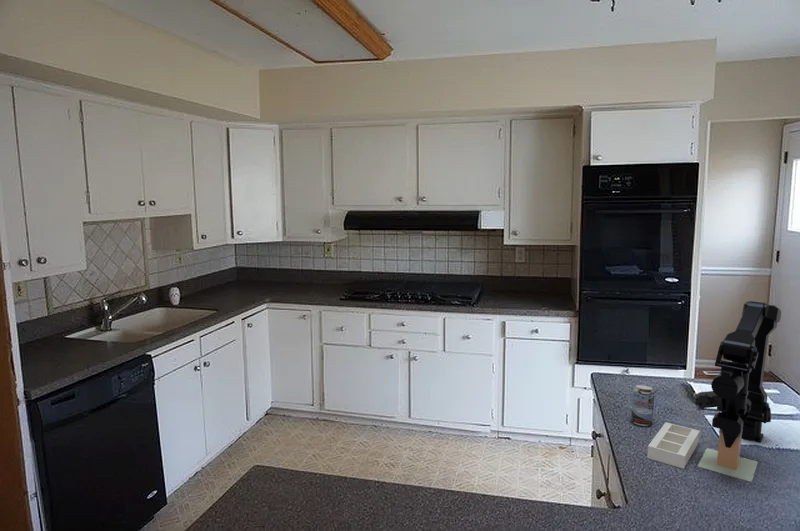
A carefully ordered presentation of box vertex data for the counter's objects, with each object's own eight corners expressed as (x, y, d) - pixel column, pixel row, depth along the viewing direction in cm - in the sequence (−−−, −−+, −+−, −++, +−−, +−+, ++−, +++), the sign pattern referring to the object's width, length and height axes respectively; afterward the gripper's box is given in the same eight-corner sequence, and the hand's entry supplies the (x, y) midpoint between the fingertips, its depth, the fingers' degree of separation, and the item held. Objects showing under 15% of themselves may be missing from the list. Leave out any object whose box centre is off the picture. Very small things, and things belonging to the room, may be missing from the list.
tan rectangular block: (719, 457, 145) (722, 423, 144) (739, 462, 142) (742, 428, 141) (716, 464, 142) (719, 429, 140) (736, 470, 139) (739, 434, 137)
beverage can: (630, 427, 165) (632, 390, 163) (630, 417, 172) (632, 381, 170) (653, 430, 162) (655, 392, 161) (652, 420, 169) (654, 384, 167)
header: (664, 434, 160) (665, 422, 159) (698, 443, 154) (699, 430, 153) (647, 459, 146) (648, 445, 145) (683, 470, 140) (684, 456, 140)
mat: (706, 449, 150) (707, 447, 150) (757, 463, 143) (758, 461, 143) (697, 468, 141) (697, 465, 141) (751, 483, 134) (751, 481, 134)
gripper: (706, 369, 151) (702, 422, 153) (691, 390, 137) (687, 448, 139) (753, 378, 144) (748, 433, 146) (743, 401, 130) (737, 461, 132)
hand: (729, 443), depth 141 cm, fingers open, 5 cm apart
